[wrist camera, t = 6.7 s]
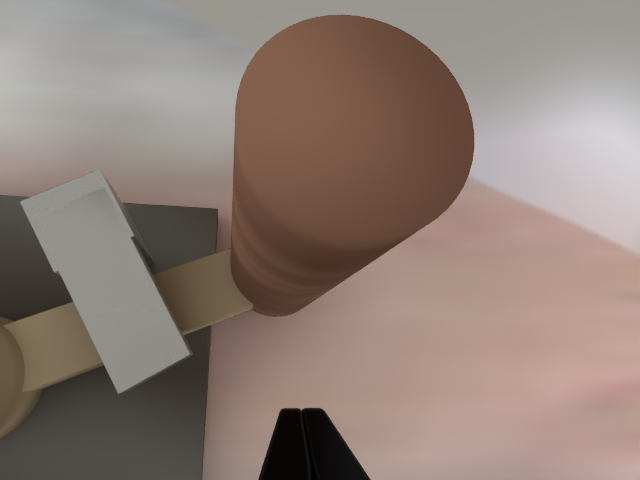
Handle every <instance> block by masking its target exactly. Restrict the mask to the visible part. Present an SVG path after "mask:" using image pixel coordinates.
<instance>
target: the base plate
mask: <svg viewBox="0 0 640 480" xmlns="http://www.w3.org/2000/svg"><path fill="white" fill-rule="evenodd" d="M28 198H30V197H20V196H4V195H0V317H4V318H7V319H9V320H12V321H14V322H15V321H18V320H21V319H24V318H27V317H30V316H33V315H35V314H38V313H41V312H44V311H47V310H50V309H53V308H56V307H59V306H62V305H65V304H68V303H71V302H73V300H72V297H71V295H70V293H69V291H68V289H67V287H66V285H65V283H64V281H63V279H62V277H61V276H60V275H58V274H56V273H54V271H53V269H52V267H51V265H50V263H49V261H48V259H47V257H46V255H45V253H44V250H43V248H42V246H41V244H40V242H39V240H38V238H37V236H36V234H35V232H34V230H33V228H32V226H31V224H30V222H29V219H28V217H27V215H26V213H25V211H24V209H23V207H22V205H21V203H20V201H23V200H25V199H28ZM123 204H124V206H125V207H126V209H127V210H128V212H129V214H130V216H131V218H132V220H133V222H134V224H135V226H136V228H137V230H138V232H139V234H140V236H141V238H142V239H143V241H144V243H145V245H146V247H147V249H148V251H149V253H150V255H151V257H152V259H153V261H154V263H152V264H150V265H148V267H149V269H150V271H151V273H152V274H156V273H159V272H162V271H165V270H168V269H171V268H174V267H177V266H180V265H183V264H186V263H189V262H192V261H195V260H198V259H201V258H204V257H206V256H209V255H212V254H215V253H216V242H217V226H218V209H212V208H196V207H180V206H164V205H148V204H132V203H123ZM184 337H185V339H186V341H187V343H188V345H189V347H190V349H191V350H192V352H193V354H194V355H192V356H190V357H189V358H187V359H185V360H183V361H181V362H179V363H178V364H176V365H174V366H172V367H170V368H169V369H167V370H165V371H163V372H161V373H160V374H158V375H156V376H154V377H152V378H151V379H149V380H147V381H145V382H143V383H142V384H140V385H138V386H136V387H134V388H133V389H131V390H129V391H126V392H123V393H120V394H118V392H117V390H116V388H115V386H114V384H113V382H112V380H111V378H110V376H109V374H108V372H107V370H106V368H105V365H104V366H101V367H99V368H96V369H93V370H91V371H88V372H85V373H83V374H80V375H78V376H75V377H72V378H70V379H67V380H64V381H62V382H59V383H56V384H54V385H51V386H49V387H46V388H43V389H42V392H41V395H40V397H39V399H38V401H37V403H36V405H35V407H34V408H33V410H32V412H31V413H30V414H29V416H28V417H27V418H26V419H25V420H24V422H23V423H21V424H20V425H19V426H18V427H17V428H16V429H15V430H14V431H12V432H11V433H10V434H8V435H7V436H5V437H3V438H2V439H0V480H202V469H203V453H204V436H205V420H206V404H207V388H208V372H209V356H210V339H211V325H209V326H206V327H204V328H201V329H199V330H196V331H193V332H191V333H188V334H185V335H184Z"/></svg>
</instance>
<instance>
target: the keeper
mask: <svg viewBox="0 0 640 480" xmlns="http://www.w3.org/2000/svg"><path fill="white" fill-rule="evenodd" d="M20 203H21V205H22V207H23V209H24V211H25V213H26V215H27V217H28V219H29V222H30V224H31V226H32V228H33V230H34V232H35V234H36V236H37V238H38V240H39V242H40V244H41V246H42V248H43V250H44V253H45V255H46V257H47V259H48V261H49V263H50V265H51V267H52V269H53V271H54V273H56V274H58V275H60V276H61V277H62V279H63V281H64V283H65V285H66V287H67V289H68V291H69V293H70V295H71V297H72V300H73V302H74V304H75V306H76V308H77V310H78V312H79V314H80V316H81V318H82V320H83V322H84V324H85V326H86V328H87V330H88V333H89V335H90V337H91V339H92V341H93V343H94V345H95V347H96V349H97V351H98V353H99V355H100V357H101V359H102V361H103V363H104V365H105V368H106V370H107V372H108V374H109V376H110V378H111V380H112V382H113V384H114V386H115V388H116V390H117V392H118V394H120V393H123V392H126V391H129V390H131V389H133V388H134V387H136V386H138V385H140V384H142V383H143V382H145V381H147V380H149V379H151V378H152V377H154V376H156V375H158V374H160V373H161V372H163V371H165V370H167V369H169V368H170V367H172V366H174V365H176V364H178V363H179V362H181V361H183V360H185V359H187V358H189V357H190V356H192V355H194V354H193V352H192V350H191V349H190V347H189V345H188V343H187V341H186V339H185V337H184V335H183V333H182V331H181V329H180V327H179V325H178V323H177V321H176V319H175V317H174V315H173V313H172V312H171V310H170V308H169V306H168V304H167V302H166V300H165V298H164V296H163V294H162V292H161V290H160V288H159V286H158V284H157V282H156V280H155V278H154V276H153V274H152V273H151V271H150V269H149V267H148V265H150V264H152V263H154V261H153V259H152V257H151V255H150V253H149V251H148V249H147V247H146V245H145V243H144V241H143V239H142V238H141V236H140V234H139V232H138V230H137V228H136V226H135V224H134V222H133V220H132V218H131V216H130V214H129V212H128V210H127V209H126V207H125V206H124V204H123V203H122V201H121V200H120V198H119V197H118V195H117V194H116V192H115V191H114V189H113V188H112V186H111V185H110V183H109V182H108V180H107V179H106V177H105V176H104V174H103V173H102V171H101V170H100V169H99V170H96V171H94V172H91V173H89V174H87V175H84V176H82V177H79V178H77V179H74V180H72V181H69V182H67V183H64V184H62V185H59V186H57V187H55V188H52V189H50V190H47V191H45V192H42V193H40V194H37V195H35V196H32V197H30V198H28V199H25V200H23V201H20Z"/></svg>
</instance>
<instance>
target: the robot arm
mask: <svg viewBox="0 0 640 480" xmlns="http://www.w3.org/2000/svg"><path fill="white" fill-rule="evenodd" d="M258 480H370V478H369V477H368V475H367V474H366V472H365V471H364V469H363V468H362V466H361V465H360V463H359V462H358V460H357V459H356V457H355V456H354V454H353V453H352V451H351V450H350V448H349V447H348V445H347V444H346V442H345V441H344V439H343V438H342V436H341V435H340V433H339V432H338V430H337V429H336V427H335V426H334V424H333V423H332V421H331V420H330V418H329V417H328V415H327V414H326V412H325V411H324V410H323V409H321V408H304V409H303V410H302V411H301V409H299V408H284V409H281V411H280V413H279V416H278V419H277V422H276V425H275V428H274V432H273V435H272V438H271V441H270V444H269V447H268V451H267V454H266V457H265V460H264V463H263V466H262V470H261V473H260V476H259V479H258Z"/></svg>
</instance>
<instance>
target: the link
mask: <svg viewBox="0 0 640 480" xmlns="http://www.w3.org/2000/svg"><path fill="white" fill-rule="evenodd" d="M473 152H474V129H473V123H472V117H471V114H470V110H469V106H468V103H467V101H466V99H465V96H464V94H463V91H462V90H461V88H460V86H459V84H458V82H457V81H456V79H455V78H454V76H453V75H452V73H451V72H450V70H449V69H448V68H447V67H446V65H445V64H444V63H443V62H442V61H441V60H440V59H439V57H438V56H437V55H435V54H434V53H433V52H432V51H431V50H430V49H428V47H427V46H425V45H424V44H423V43H421V42H420V41H418V40H417V39H416V38H414V37H413V36H411V35H409V34H408V33H406V32H404V31H402V30H400V29H398V28H396V27H394V26H391V25H389V24H386V23H383V22H380V21H377V20H374V19H370V18H365V17H360V16H351V15H328V16H322V17H316V18H312V19H308V20H304V21H301V22H299V23H296V24H294V25H292V26H289V27H288V28H286V29H284V30H283V31H281V32H279V33H278V34H276V35H275V36H274V37H272V38H271V39H270V40H269V41H267V42H266V43H265V44H264V45H263V47H261V48H260V50H259V51H258V52H257V53H256V54H255V56H254V57H253V59H252V60H251V62H250V63H249V65H248V66H247V68H246V71H245V73H244V75H243V77H242V79H241V83H240V86H239V90H238V94H237V101H236V112H235V142H234V171H233V201H232V230H231V248H230V249H227V250H224V251H221V252H218V253H215V254H212V255H209V256H206V257H204V258H201V259H198V260H195V261H192V262H189V263H186V264H183V265H180V266H177V267H174V268H171V269H168V270H165V271H162V272H159V273H156V274H153V276H154V278H155V280H156V282H157V284H158V286H159V288H160V290H161V292H162V294H163V296H164V298H165V300H166V302H167V304H168V306H169V308H170V310H171V312H172V313H173V315H174V317H175V319H176V321H177V323H178V325H179V327H180V329H181V331H182V333H183V335H185V334H188V333H191V332H193V331H196V330H199V329H201V328H204V327H206V326H209V325H212V324H214V323H217V322H220V321H222V320H225V319H228V318H230V317H233V316H235V315H238V314H241V313H243V312H246V311H249V310H251V309H252V310H253V311H255V312H257V313H260V314H263V315H267V316H274V317H277V316H286V315H290V314H293V313H295V312H297V311H299V310H301V309H302V308H304V307H305V306H307V305H308V304H310V303H311V302H313V301H314V300H316V299H317V298H319V297H320V296H322V295H323V294H325V293H326V292H328V291H329V290H331V289H332V288H334V287H335V286H337V285H338V284H340V283H341V282H343V281H344V280H346V279H347V278H348V277H350V276H351V275H353V274H354V273H356V272H357V271H359V270H360V269H362V268H363V267H365V266H366V265H368V264H369V263H371V262H372V261H374V260H375V259H377V258H378V257H380V256H381V255H383V254H384V253H386V252H387V251H389V250H390V249H392V248H393V247H395V246H396V245H398V244H399V243H401V242H402V241H404V240H405V239H407V238H408V237H410V236H411V235H413V234H414V233H416V232H417V231H419V230H420V229H422V228H423V227H425V226H426V225H428V224H429V223H431V222H432V221H434V220H435V219H436V218H438V217H439V216H440V215H441V214H442V213H443V212H444V211H446V210H447V209H448V208H449V206H450V205H451V204H452V203H453V202H454V200H455V199H456V198H457V196H458V195H459V193H460V191H461V190H462V188H463V187H464V184H465V182H466V180H467V177H468V175H469V172H470V168H471V164H472V161H473ZM101 366H104V363H103V361H102V359H101V357H100V355H99V353H98V351H97V349H96V347H95V345H94V343H93V341H92V339H91V337H90V335H89V333H88V330H87V328H86V326H85V324H84V322H83V320H82V318H81V316H80V314H79V312H78V310H77V308H76V306H75V304H74V302H71V303H68V304H65V305H62V306H59V307H56V308H53V309H50V310H47V311H44V312H41V313H38V314H35V315H33V316H30V317H27V318H24V319H21V320H18V321H15V322H14V321H12V320H9V319H7V318H4V317H0V439H2V438H3V437H5V436H7V435H8V434H10V433H11V432H12V431H14V430H15V429H16V428H17V427H18V426H19V425H20V424H21V423H23V422H24V420H25V419H26V418H27V417H28V416H29V414H30V413H31V412H32V410H33V408H34V407H35V405H36V403H37V401H38V399H39V397H40V395H41V392H42V389H43V388H46V387H49V386H51V385H54V384H56V383H59V382H62V381H64V380H67V379H70V378H72V377H75V376H78V375H80V374H83V373H85V372H88V371H91V370H93V369H96V368H99V367H101Z"/></svg>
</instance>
